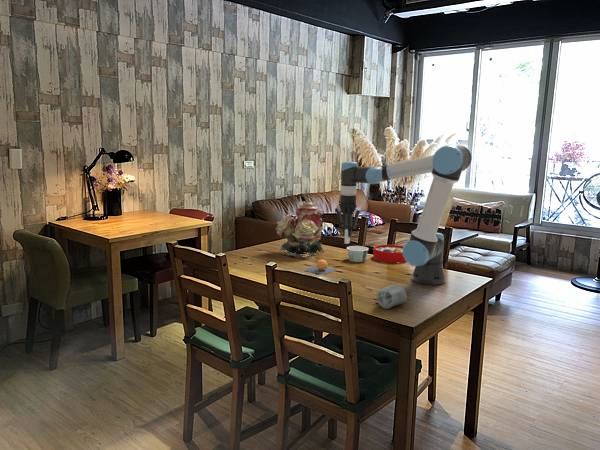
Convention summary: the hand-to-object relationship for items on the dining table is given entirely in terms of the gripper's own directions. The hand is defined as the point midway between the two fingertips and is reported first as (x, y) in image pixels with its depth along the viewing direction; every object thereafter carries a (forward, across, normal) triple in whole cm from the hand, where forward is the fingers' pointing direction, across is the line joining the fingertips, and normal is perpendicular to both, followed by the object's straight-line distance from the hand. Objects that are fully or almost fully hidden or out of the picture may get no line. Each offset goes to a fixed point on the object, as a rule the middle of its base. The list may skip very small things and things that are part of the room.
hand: (347, 243), depth 246 cm
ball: (+13, +13, 0) cm, 18 cm away
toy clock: (+16, -9, -43) cm, 47 cm away
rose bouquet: (+16, +39, -29) cm, 51 cm away
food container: (+16, +6, -30) cm, 34 cm away
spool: (+16, -34, +35) cm, 51 cm away
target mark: (+15, +14, 0) cm, 21 cm away
